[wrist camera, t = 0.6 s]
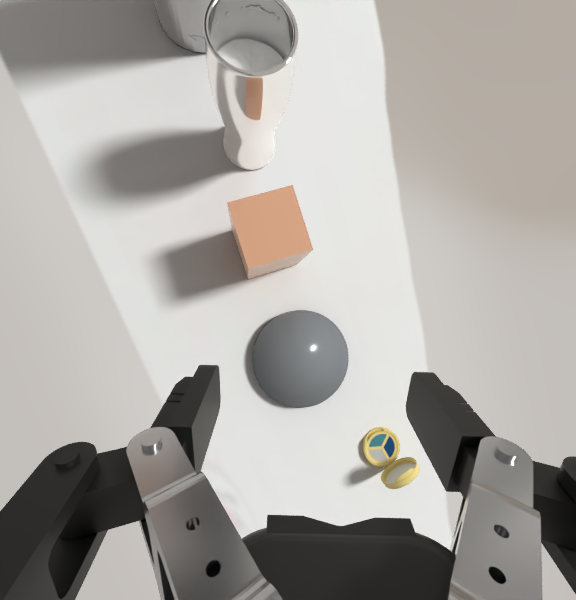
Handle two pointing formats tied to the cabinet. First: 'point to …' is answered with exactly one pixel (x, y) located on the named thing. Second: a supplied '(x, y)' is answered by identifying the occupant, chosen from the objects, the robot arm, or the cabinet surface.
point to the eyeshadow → (389, 458)
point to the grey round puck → (300, 358)
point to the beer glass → (250, 73)
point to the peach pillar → (269, 231)
